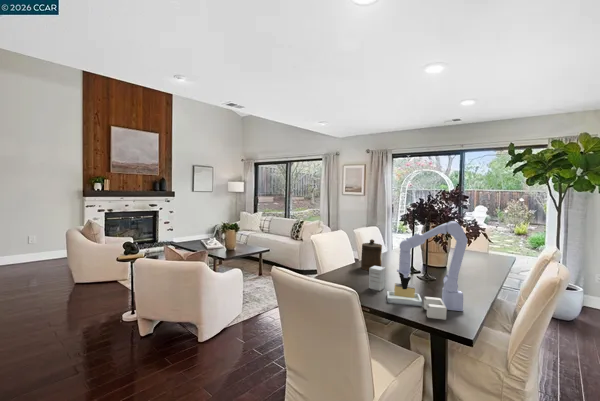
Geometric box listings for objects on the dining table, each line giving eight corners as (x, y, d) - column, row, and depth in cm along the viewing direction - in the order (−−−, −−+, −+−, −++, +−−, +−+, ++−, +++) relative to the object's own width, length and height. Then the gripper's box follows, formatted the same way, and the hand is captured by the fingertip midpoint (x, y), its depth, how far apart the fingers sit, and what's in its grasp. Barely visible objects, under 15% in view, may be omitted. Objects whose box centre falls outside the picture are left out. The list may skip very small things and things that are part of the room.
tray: (418, 298, 167) (419, 293, 167) (422, 306, 155) (422, 301, 155) (386, 294, 171) (387, 290, 171) (387, 302, 159) (387, 298, 159)
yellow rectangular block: (413, 294, 164) (414, 285, 164) (414, 298, 159) (415, 288, 159) (394, 292, 167) (394, 282, 166) (394, 295, 162) (395, 285, 161)
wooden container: (385, 269, 224) (386, 240, 223) (370, 272, 217) (371, 241, 216) (371, 265, 237) (372, 237, 236) (356, 267, 230) (357, 238, 229)
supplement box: (373, 285, 188) (374, 265, 187) (385, 288, 183) (385, 267, 182) (368, 288, 182) (369, 267, 181) (380, 291, 177) (380, 269, 177)
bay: (440, 308, 152) (440, 298, 152) (446, 319, 140) (446, 308, 140) (423, 307, 154) (423, 296, 154) (427, 317, 142) (428, 306, 141)
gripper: (396, 258, 170) (395, 282, 171) (398, 265, 156) (397, 291, 157) (409, 259, 168) (408, 283, 169) (412, 266, 154) (411, 292, 155)
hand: (404, 287), depth 163 cm, fingers closed on yellow rectangular block, 5 cm apart
